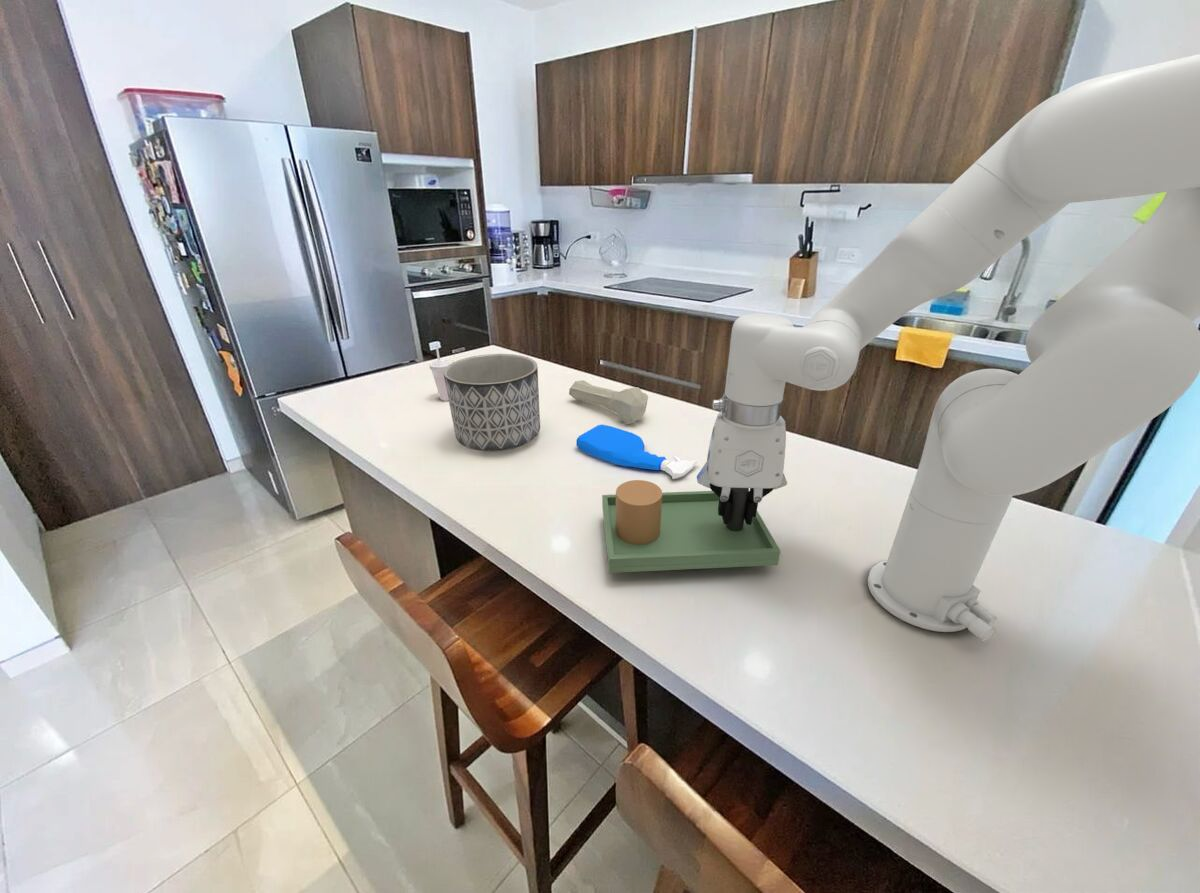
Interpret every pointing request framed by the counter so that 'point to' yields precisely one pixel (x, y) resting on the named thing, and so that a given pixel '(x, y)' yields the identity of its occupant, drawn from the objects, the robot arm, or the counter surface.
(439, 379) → the smoothie
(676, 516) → the tray
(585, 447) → the spray bottle
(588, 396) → the faceted club
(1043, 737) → the counter surface
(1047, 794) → the counter surface
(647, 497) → the stubby tan cylinder
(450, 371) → the planter
